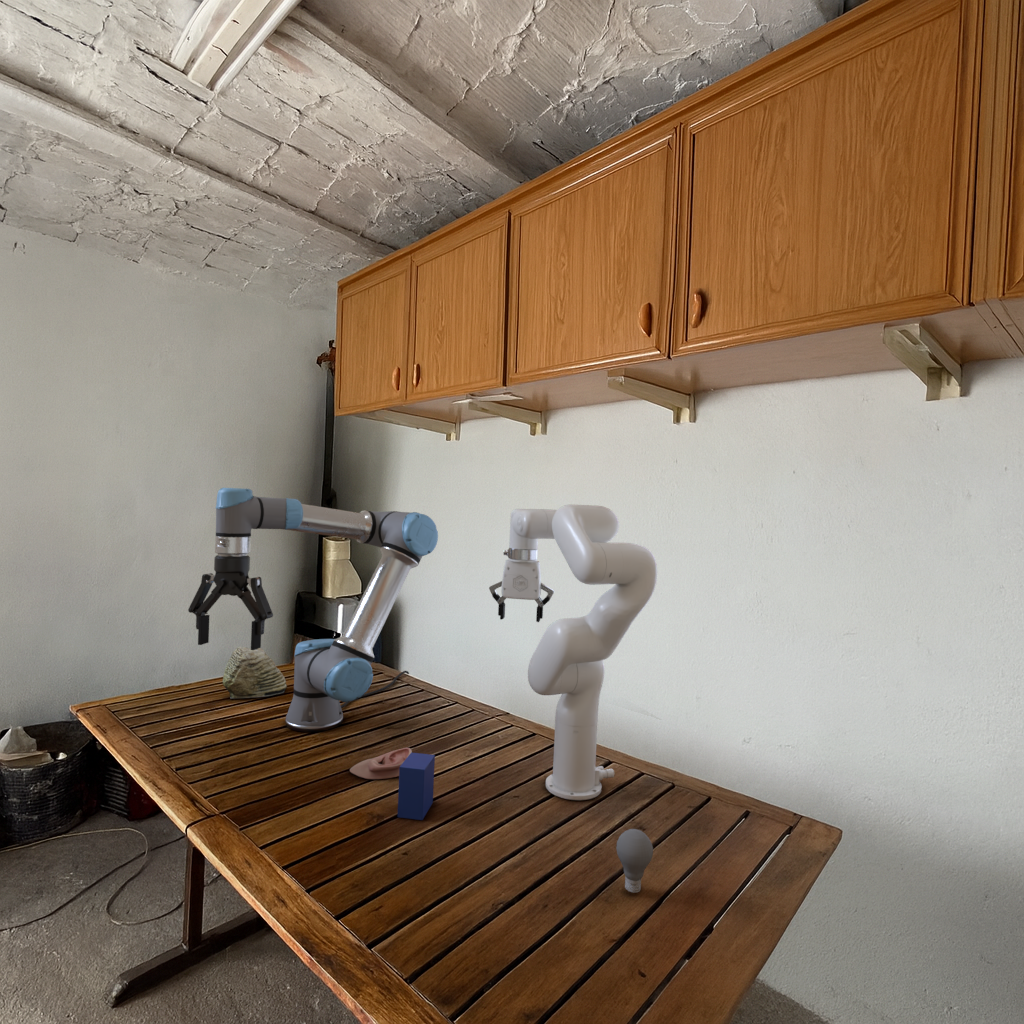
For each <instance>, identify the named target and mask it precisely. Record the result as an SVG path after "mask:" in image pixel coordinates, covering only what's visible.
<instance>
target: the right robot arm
mask: <svg viewBox="0 0 1024 1024" xmlns="http://www.w3.org/2000/svg"><path fill="white" fill-rule="evenodd" d="M509 520H510V521H509V541H508V543H509V544H508V549H504V550H503V556H506V557H507V558H508V559H506V560H505V561H504V566H503V571H502V578H501V579H502V580H501V581H499V582H497V583H493V584H492V585H489V587H488V589H489V592H490V593H491V596H492V598H493V600H494V601H496V602H497V604H498V607H497V608H498V609H497V611H498V613H497V615H498V617H499V620H504V619H505V617H506V603H505V601H506V599H511V600H512V599H513V600H527V601H535V602H536V604H537V606H536V618H535V619H536V620H535V621H536V622H535V623H540V621H541V619H543V618H544V606H545V605H547V604H548V602H550V600H551V599H552V598H553V595H554V594H555V590H554V589H553V588H551V587H549V586H547V585H546V584H545V583H542V573H541V563H540V561H539V560H538V550H539V549H538V546H539V540H540V539H542V540H545V539H546V540H551V539H552V540H555V543H556V544H557V546H558V548H559V550H560V552H561V554H562V556H563V557H564V559H565V561H566V563H567V566H568V568H569V569H570V571H571V573H572V575H573V576H574V577H575V579H576V580H578V581H579V582H580V583H581V584H585V585H590V586H591V585H592V586H597V585H598V586H599V585H613V586H612V587H610V588H609V589H608V590H606V591H605V592H604V593H602V595H601V596H599V598H597V600H596V602H595V603H594V605H593V606H592V608H591V610H590V611H589V612H588V613H587V614H586V615H584V616H579V617H565V618H559V619H557V620H554V621H553V622H552V623H550V624H549V625H548V627H547V628H546V629H545V630H544V633H543V634H542V637H541V639H540V640H539V642H538V644H537V646H536V648H535V649H534V652H533V653H532V655H531V657H530V660H529V663H528V667H527V681H528V684H529V687H530V688H531V690H533V692H535V693H536V694H537V695H541V696H557V695H560V697H559V699H558V700H557V701H558V702H557V704H556V707H555V719H554V736H553V738H554V740H553V758H552V759H553V761H552V763H553V764H552V773H551V774H549V775H548V776H547V777H546V779H545V789H546V790H547V791H548V792H549V793H550V794H552V795H554V796H555V797H558V798H561V799H565V800H569V801H570V800H571V801H586V800H592V799H594V798H597V797H598V796H599V795H601V793H602V789H603V788H602V787H603V786H602V783H601V781H603V779H611V778H615V770H614V769H613V768H604V766H603V765H600V766H599V765H598V766H596V761H597V742H598V722H599V709H600V708H599V707H600V697H601V692H602V688H603V684H604V680H605V674H606V668H605V667H606V666H605V662H604V660H607V659H608V658H610V657H611V656H612V654H613V653H614V652H615V650H616V649H617V647H618V646H619V644H620V643H621V641H622V640H623V638H624V637H625V635H626V634H627V632H628V630H629V629H630V627H631V625H632V624H633V622H634V621H635V620H636V618H638V616H639V614H640V613H641V612H642V611H643V610H644V609H645V607H646V606H647V604H649V601H650V600H651V598H652V596H653V594H654V592H655V589H656V586H657V581H658V564H657V559H656V557H655V555H654V553H653V552H652V551H651V550H650V548H649V549H648V548H647V547H646V546H644V545H641V544H638V543H634V542H610V541H611V540H613V539H614V538H615V537H616V536H617V534H618V533H619V529H620V522H619V518H618V516H617V514H616V513H615V512H614V511H613V510H611V509H610V508H608V507H606V506H603V505H595V504H594V505H589V504H565V505H562V506H560V507H559V508H557V509H553V508H552V509H547V508H515V509H513V510H512V511H511V513H510V519H509ZM499 588H501V596H500V595H499V593H498V592H497V589H499ZM542 591H544V592H546V596H545V597H544V598H543V599H542V597H541V595H542V594H541V593H542Z"/></svg>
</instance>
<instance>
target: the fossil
mask: <svg viewBox="0 0 1024 1024" xmlns="http://www.w3.org/2000/svg"><path fill="white" fill-rule="evenodd" d="M222 676H223V677H222V685H223V687H224V688H225V690H226V691H228V693H229V698H230V699H250V698H264V697H271V696H275V695H281V694H284V693H285V691H286V689H287V687H288V686H287V680H286V678H285V676H284V674H283V673H282V672H281V669H279V668H278V667H277V665H276V663H275V662H274V660H273V659H272V658H271V657H270V656H269V655H268V654H267V653H266V652H265V650H264V649H263V648H262V647H261V648H258V649H256V650H251V647H247V646H246V647H245V646H238V647H237V648H236V649H235V650H233V651H232V653H231V656H230V657H229V659H228V660H227V663H226V666H225V668H224V671H223V675H222Z"/></svg>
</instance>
